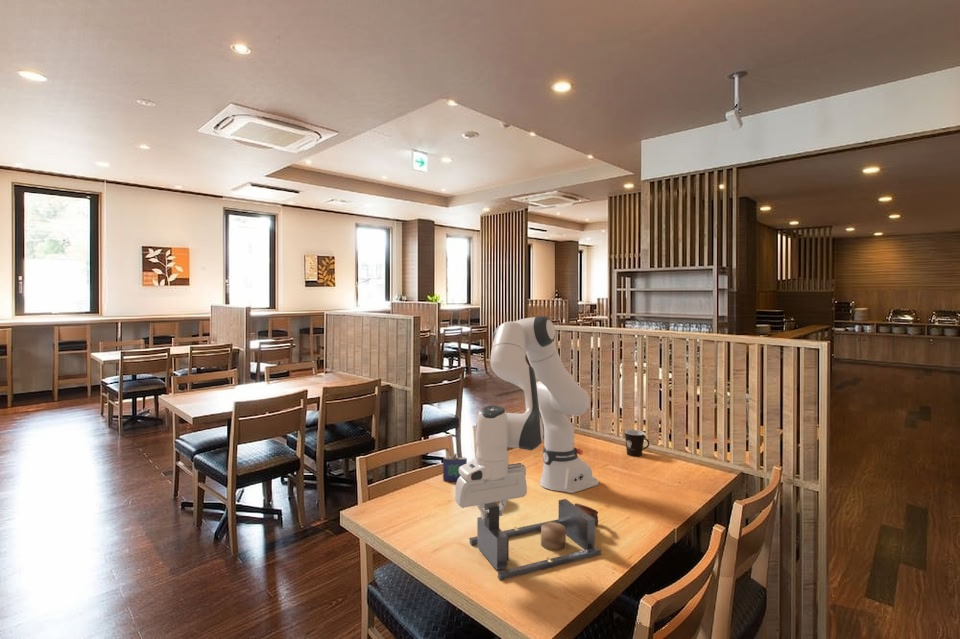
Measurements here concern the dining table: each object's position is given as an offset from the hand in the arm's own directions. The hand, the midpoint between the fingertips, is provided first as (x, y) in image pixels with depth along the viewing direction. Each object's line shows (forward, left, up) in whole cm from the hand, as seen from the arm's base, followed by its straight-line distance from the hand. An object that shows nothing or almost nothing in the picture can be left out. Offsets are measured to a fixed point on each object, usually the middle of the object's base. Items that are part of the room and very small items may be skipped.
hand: (491, 516), depth 135 cm
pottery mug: (-34, -4, -12) cm, 36 cm away
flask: (-11, -57, -12) cm, 59 cm away
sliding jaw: (0, 0, -12) cm, 12 cm away
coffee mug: (-96, -53, -12) cm, 110 cm away
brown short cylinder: (-20, 0, -12) cm, 23 cm away
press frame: (-14, 0, -12) cm, 18 cm away
